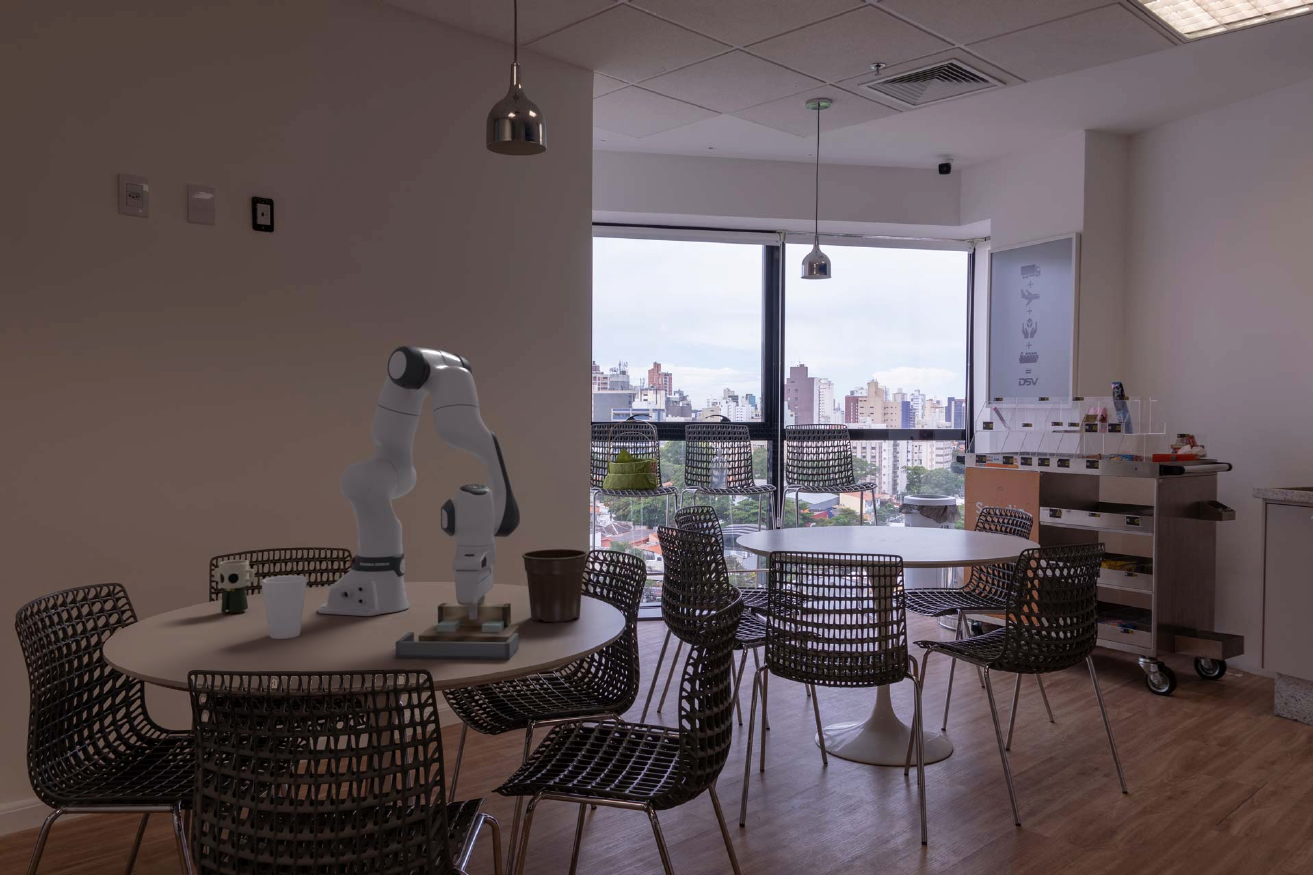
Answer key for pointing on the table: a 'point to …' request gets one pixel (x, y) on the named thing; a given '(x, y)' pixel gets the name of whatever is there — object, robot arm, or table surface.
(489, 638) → the board
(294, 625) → the foam cup
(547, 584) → the plant pot
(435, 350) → the robot arm
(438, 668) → the table surface
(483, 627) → the tile
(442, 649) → the tray
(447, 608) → the brown wooden block
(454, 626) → the tile
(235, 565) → the character mug
